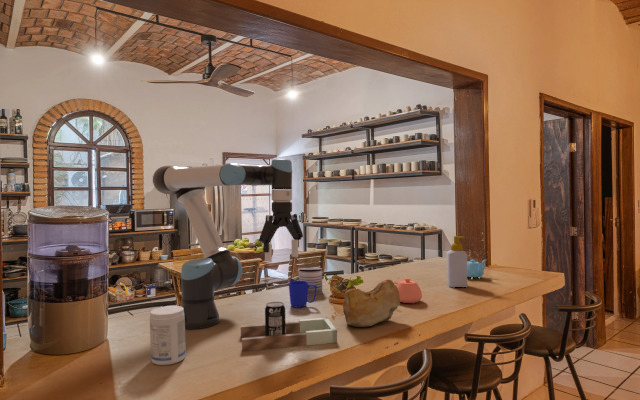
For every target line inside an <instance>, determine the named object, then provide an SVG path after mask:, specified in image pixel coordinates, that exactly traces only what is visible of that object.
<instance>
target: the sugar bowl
mask: <svg viewBox="0 0 640 400" xmlns="http://www.w3.org/2000/svg"><path fill="white" fill-rule="evenodd" d="M393 283H394V285H395V284H396V287H397V288H398V291H399V295H400V302H403V303H402V304H406V303H407V304H411V303H415V304H416V303H419V302H420V301H421V300H422V298H423V293H422V290H421V287H420V286H419V284H418V283H417V281H415V280H411V278H410V277H406V278H404V280H399V281H393Z"/></svg>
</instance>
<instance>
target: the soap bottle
mask: <svg viewBox="0 0 640 400" xmlns="http://www.w3.org/2000/svg"><path fill="white" fill-rule="evenodd" d="M460 239H465V236H463V235H461V236H460V235H459V236H458V235H454V236H453V243H451V246H450V249H449V250H448V251H446V284H447V286H448V287H449V286H450V287H449V288H455V287H466V288H468V278H467V262H468V253H467V252H466V251H464V249H463V244H462V243H460Z"/></svg>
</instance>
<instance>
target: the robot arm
mask: <svg viewBox="0 0 640 400" xmlns="http://www.w3.org/2000/svg"><path fill="white" fill-rule="evenodd" d="M292 164H293V163H292V161H291V159H288V158H276V159H275V158H274V159H272V160H271V164H269V165H266V164H265V165H263V164H262V165H258V164H247V163H246V164H243V163H238V162H228V163H225V164H217V165H207V166H206V165H205V166H189V165H188V166H178V165H163V166H161V167H158V168H157V169H156V170H155V171H154V173H153V175H152V185H153V186H154V188H155V189H156V190H157V191H158V192H159V193H162V194H164V195H175V197H176V200H177V202H178V203H180V204H183V208H184V210H185V211H186V214H187V217H188V220H189V223H190V224H191V228H192V229H193V232H194V234H195V237H196V239H197V242H198V244H199V247H200V250H201V252H202V254H203V257H201V258H200V257H199V258H195V259H190V260H188V261H185V262H184V263H182V265H181V269H180V270H181V271H180V272H181V273H180V281H181V282H180V283H181V284H180V285H181V305H180V306H181V307H183V308H184V317H185V330H187V329H188V330H195V329H196V330H198V329H205V328H206V329H207V328H209V327H213V326H215V325H217V324H218V323H219V322H220V314H219V311H218V308H217V306H216V302H215V291H218V290H221V289H224V288H225V289H226V288H230V287H231V286H234V285H235V284H237V283H238V282H239V281H240V279H241V277H242V274H243V265H242V262H241V261H240V259H239V258H238V257H236V256H234V255H232V253H231V251H230V249H228V248H226V247H225V246H224V243H223V241H222V238H221V237H220V234H219V231H218V229H217V227H216V225H215V221H214V220H213V217H212V215H211V213H210V210H209V207H208V204H207V202H206V200H205V198H204V196H205V194H206V192H205V191H206V188H209V187H223V186H229V187H231V186H254V187H255V186H271V201H272V202H271V212H272V215H270V214H269V215H268V214H267V215H266V216H265V222H264V224H263V227H262V230H261V232H260V235H259V239H258V242H261V243H263V252H264V261H265V262H268V263H272V259H273V258H272V255H273V253H272V242H271V241H272V239H273V237H274V236H275V234H276V232H277V231H278V229H279V228H283V227H285V228H286V229H287V231H288V233H289V234H290V236H291V237H292V238H293V239H291V258H292V257H293V258H298V257H299V247H300V240H302V238H303V237H304V234H303V231H302V228H301V226H300V223H299V221H298V220H299V219H298V214H297V213H292V212H293V202H292V200H293V166H292Z"/></svg>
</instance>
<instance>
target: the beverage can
mask: <svg viewBox="0 0 640 400" xmlns="http://www.w3.org/2000/svg"><path fill="white" fill-rule="evenodd" d="M265 305H266V306H265V308H264V319H265V320H264V324H265V336H274V335H285V334H286V327H285V322H286V307H285V303H284V302H281V301H270V302H267V303H266V304H265Z"/></svg>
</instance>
